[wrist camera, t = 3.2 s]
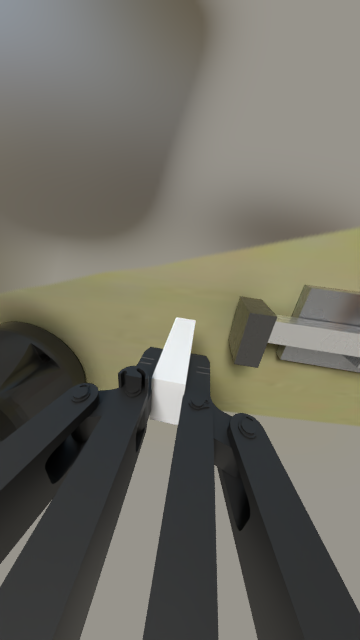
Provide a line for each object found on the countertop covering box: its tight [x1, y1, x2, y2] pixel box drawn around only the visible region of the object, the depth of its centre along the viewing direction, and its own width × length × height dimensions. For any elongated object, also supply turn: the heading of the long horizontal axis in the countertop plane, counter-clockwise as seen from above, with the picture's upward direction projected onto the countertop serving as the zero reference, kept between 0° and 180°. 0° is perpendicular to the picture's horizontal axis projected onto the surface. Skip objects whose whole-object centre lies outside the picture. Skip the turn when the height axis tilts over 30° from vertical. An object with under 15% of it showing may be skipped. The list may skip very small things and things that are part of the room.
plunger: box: [229, 297, 360, 368], centre depth 15 cm, size 13×7×4 cm, turn 84°
